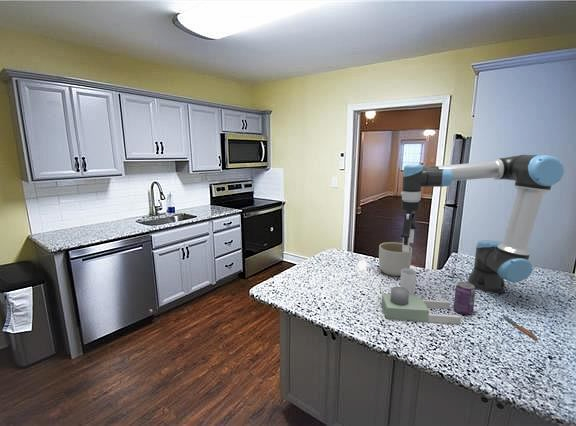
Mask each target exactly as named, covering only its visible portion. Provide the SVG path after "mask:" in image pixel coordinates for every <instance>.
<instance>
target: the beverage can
mask: <svg viewBox="0 0 576 426" xmlns="http://www.w3.org/2000/svg"><path fill="white" fill-rule="evenodd" d="M475 297H476V288H475V286H474V285H473V284H470V283H468V281H467V282H465V281H458V282H457V284H456V286H455V292H454V298H453V299H454V300H453V310H455V311H456V312H457V313H459V314H463V315H471V314H473V313H474V307H475V299H476V298H475Z"/></svg>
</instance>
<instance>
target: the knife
mask: <svg viewBox="0 0 576 426" xmlns="http://www.w3.org/2000/svg"><path fill="white" fill-rule="evenodd" d="M502 317H503V318H504V319H505V320H506V321H507V322H508V323H510V324H511V325H512V326H513V329H514V328H516V329H517V330H519V331H520V332H522V333H523V334H525V335H526V336H528V337H529V338H531V339H533V341H534V342H537V341H538V340H539V338H538V337H537V336H536V335H535V334H534V333H532V332H531V331H530V330H528V329H527V328H525V327H524V326H522V325H519V324H518V323H516V322H515V321H514V320H512V319H510V318H509V317H507V315H504V314H502Z"/></svg>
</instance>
